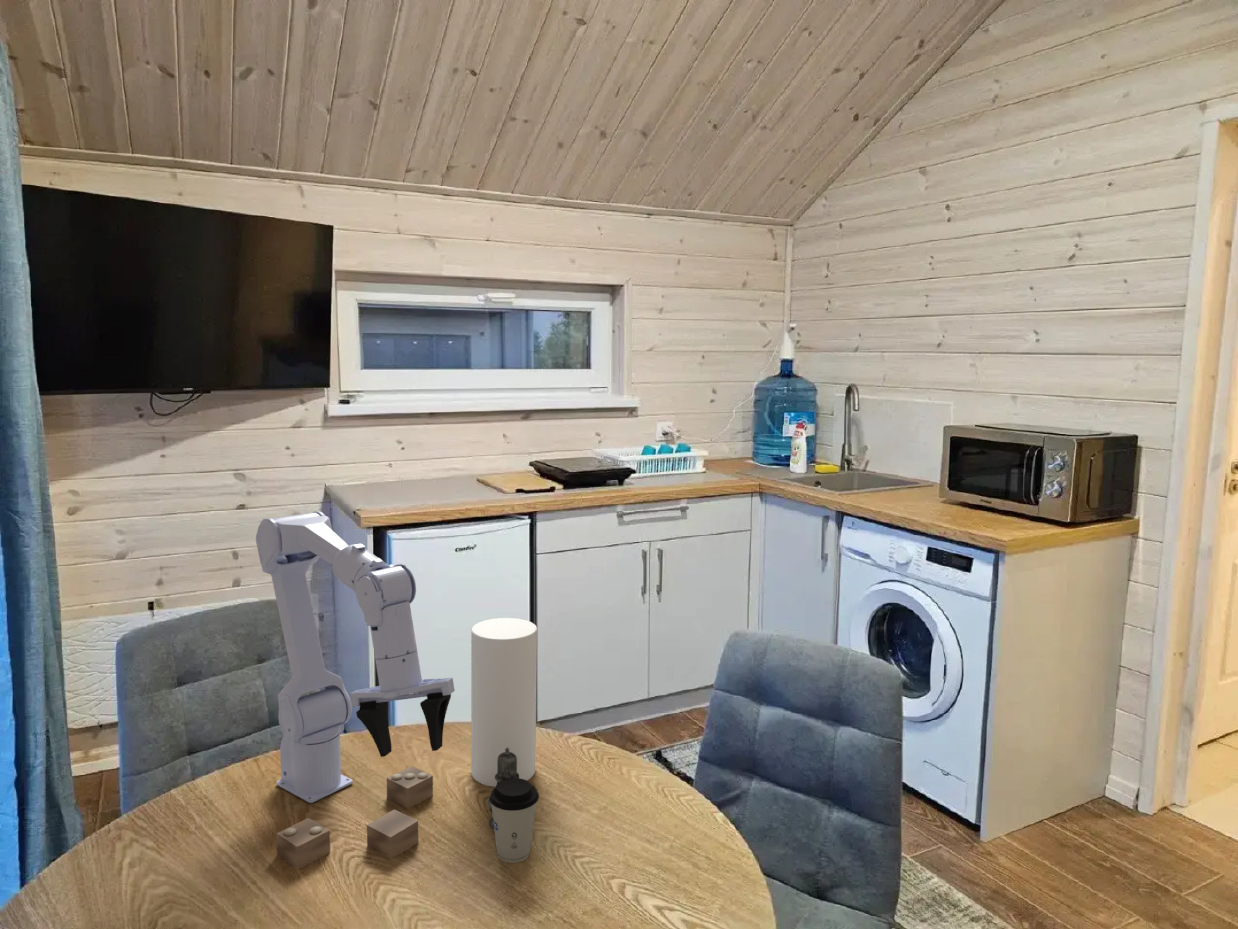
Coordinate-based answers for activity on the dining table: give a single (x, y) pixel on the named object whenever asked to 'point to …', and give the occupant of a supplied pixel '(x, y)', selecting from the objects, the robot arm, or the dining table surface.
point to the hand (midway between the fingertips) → (411, 751)
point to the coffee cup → (513, 818)
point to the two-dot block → (303, 843)
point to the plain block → (392, 834)
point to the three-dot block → (409, 787)
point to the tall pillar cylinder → (503, 696)
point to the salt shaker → (504, 772)
